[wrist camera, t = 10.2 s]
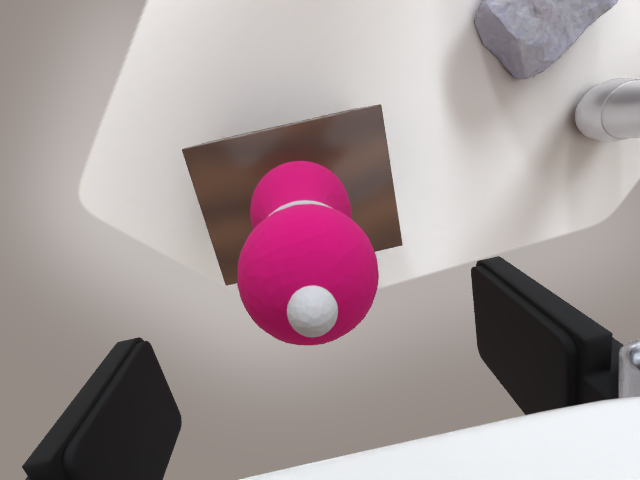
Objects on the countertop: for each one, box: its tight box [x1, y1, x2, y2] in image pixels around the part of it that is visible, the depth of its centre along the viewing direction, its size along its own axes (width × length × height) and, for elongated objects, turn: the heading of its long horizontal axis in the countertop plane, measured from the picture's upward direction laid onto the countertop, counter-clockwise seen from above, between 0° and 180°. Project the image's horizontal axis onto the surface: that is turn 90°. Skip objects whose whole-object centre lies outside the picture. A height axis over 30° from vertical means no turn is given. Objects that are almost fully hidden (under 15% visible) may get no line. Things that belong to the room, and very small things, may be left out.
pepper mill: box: [237, 161, 379, 345], centre depth 22 cm, size 7×7×20 cm
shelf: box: [182, 105, 402, 285], centre depth 37 cm, size 12×16×12 cm
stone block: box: [475, 0, 618, 79], centre depth 38 cm, size 12×5×10 cm
